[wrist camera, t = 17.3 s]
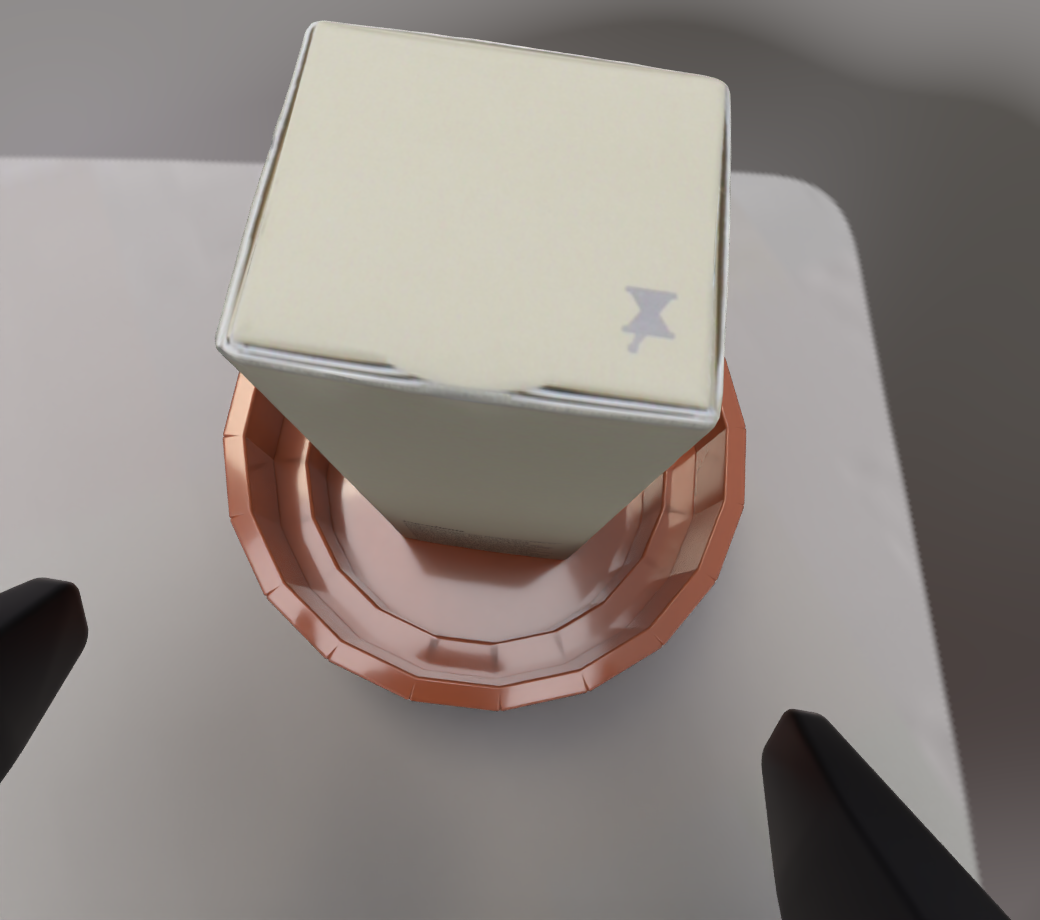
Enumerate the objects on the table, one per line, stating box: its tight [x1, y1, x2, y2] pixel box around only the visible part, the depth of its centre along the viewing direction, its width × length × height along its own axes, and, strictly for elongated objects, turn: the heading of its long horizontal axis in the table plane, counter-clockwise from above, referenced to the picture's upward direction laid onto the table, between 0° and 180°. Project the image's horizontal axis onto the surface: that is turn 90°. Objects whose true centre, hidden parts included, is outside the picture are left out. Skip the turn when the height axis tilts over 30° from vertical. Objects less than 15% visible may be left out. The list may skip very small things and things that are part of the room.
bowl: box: [223, 357, 746, 711], centre depth 17 cm, size 12×12×5 cm
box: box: [215, 21, 731, 560], centre depth 13 cm, size 5×4×13 cm
